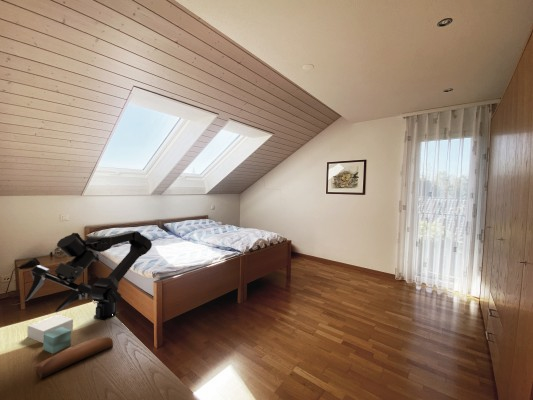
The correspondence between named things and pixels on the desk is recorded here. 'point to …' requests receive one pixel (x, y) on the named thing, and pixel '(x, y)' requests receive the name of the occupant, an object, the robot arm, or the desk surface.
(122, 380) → the desk surface
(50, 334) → the teal cube
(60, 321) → the large white block
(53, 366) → the sunglasses case
